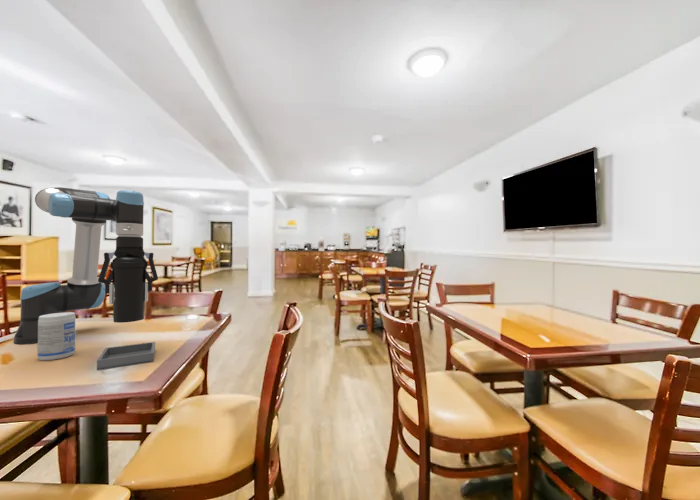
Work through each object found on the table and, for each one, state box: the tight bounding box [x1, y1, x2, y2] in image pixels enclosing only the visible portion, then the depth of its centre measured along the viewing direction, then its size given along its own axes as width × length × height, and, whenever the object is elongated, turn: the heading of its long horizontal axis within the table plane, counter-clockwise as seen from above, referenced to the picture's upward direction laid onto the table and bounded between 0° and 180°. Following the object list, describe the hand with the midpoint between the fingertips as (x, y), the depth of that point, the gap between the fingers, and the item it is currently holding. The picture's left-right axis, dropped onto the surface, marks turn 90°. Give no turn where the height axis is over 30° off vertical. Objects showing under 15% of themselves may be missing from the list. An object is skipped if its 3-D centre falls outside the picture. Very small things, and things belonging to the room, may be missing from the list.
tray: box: [96, 341, 156, 371], centre depth 104 cm, size 15×15×3 cm
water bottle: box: [110, 253, 149, 324], centre depth 104 cm, size 10×10×23 cm
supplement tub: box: [37, 311, 76, 361], centre depth 107 cm, size 10×10×15 cm
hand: (129, 302), depth 104 cm, fingers closed on water bottle, 9 cm apart
